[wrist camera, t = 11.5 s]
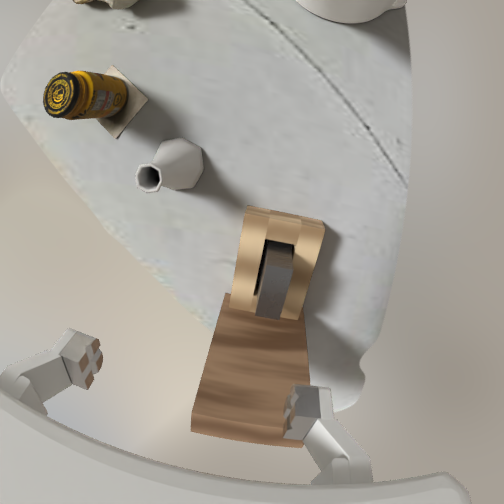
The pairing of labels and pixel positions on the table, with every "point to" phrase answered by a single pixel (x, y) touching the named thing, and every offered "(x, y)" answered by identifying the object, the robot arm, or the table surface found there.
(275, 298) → the brushed steel bar
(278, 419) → the tan slotted wooden fixture
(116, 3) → the ceramic sculpture
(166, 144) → the flask
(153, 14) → the table surface
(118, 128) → the condiment
